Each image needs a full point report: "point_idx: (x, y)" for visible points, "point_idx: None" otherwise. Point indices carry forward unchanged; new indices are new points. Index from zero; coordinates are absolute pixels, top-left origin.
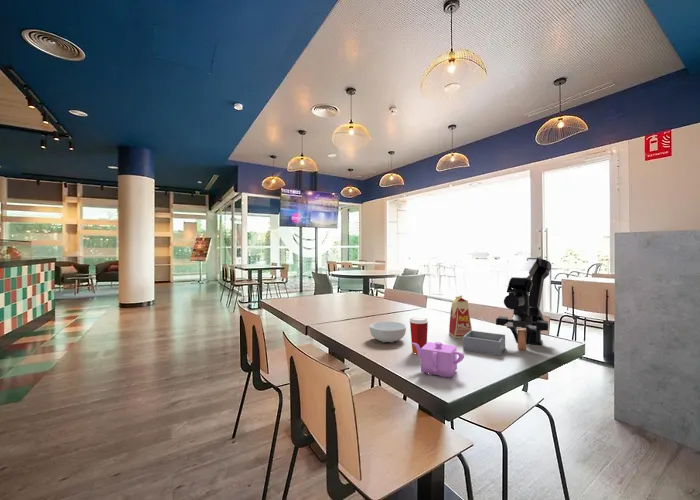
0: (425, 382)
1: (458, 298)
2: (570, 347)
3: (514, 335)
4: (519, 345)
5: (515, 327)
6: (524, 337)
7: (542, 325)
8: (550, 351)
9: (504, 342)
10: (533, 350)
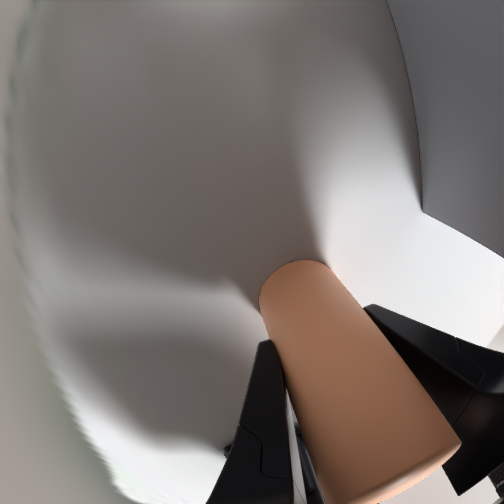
0: None
1: None
2: (117, 472)
3: (448, 342)
4: (332, 283)
5: (493, 452)
6: (315, 391)
7: None
8: (113, 391)
9: (469, 186)
10: (205, 335)
